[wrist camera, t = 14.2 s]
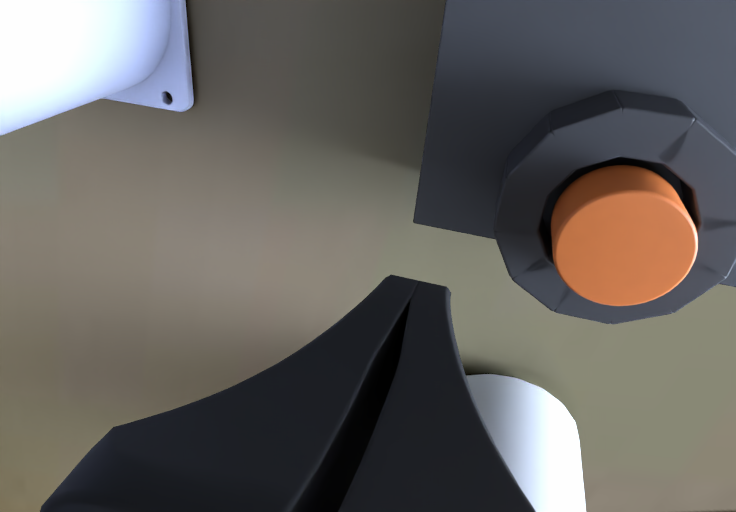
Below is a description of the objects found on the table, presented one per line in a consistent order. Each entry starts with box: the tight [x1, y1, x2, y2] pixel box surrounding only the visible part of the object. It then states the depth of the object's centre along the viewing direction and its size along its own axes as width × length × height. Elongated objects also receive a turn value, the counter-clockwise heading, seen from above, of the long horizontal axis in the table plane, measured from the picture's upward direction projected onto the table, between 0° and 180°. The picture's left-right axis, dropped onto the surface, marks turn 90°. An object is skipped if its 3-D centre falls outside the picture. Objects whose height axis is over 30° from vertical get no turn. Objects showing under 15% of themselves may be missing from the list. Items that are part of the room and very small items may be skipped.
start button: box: [551, 165, 698, 306], centre depth 14 cm, size 3×3×2 cm
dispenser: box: [413, 0, 736, 324], centre depth 16 cm, size 11×9×6 cm
